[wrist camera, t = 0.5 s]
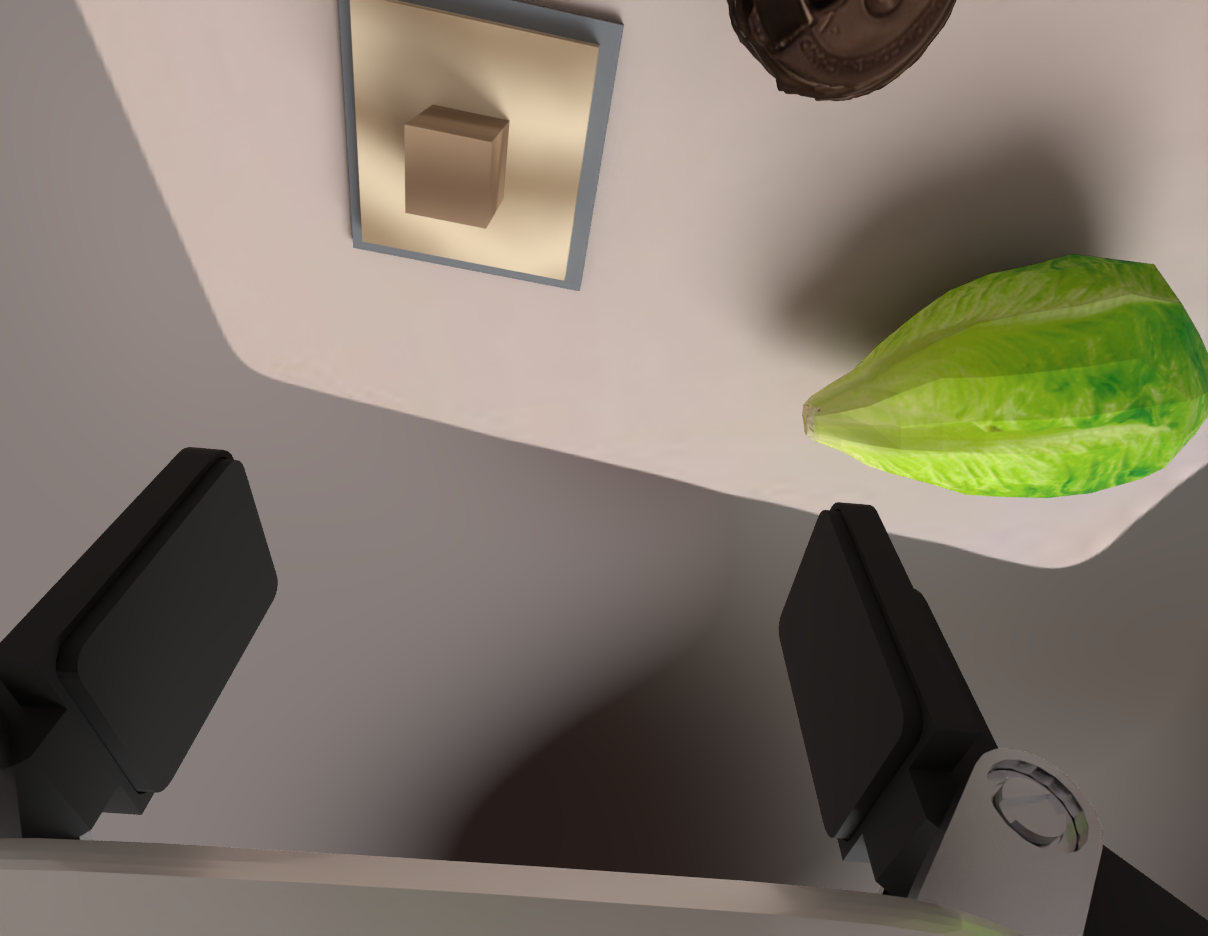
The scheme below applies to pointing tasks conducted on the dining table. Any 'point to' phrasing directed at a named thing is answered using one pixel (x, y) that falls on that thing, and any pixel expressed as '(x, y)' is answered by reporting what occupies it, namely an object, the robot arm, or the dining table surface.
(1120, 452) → the lettuce
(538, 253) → the lid
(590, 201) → the mat
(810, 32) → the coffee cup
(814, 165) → the dining table surface
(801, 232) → the dining table surface
